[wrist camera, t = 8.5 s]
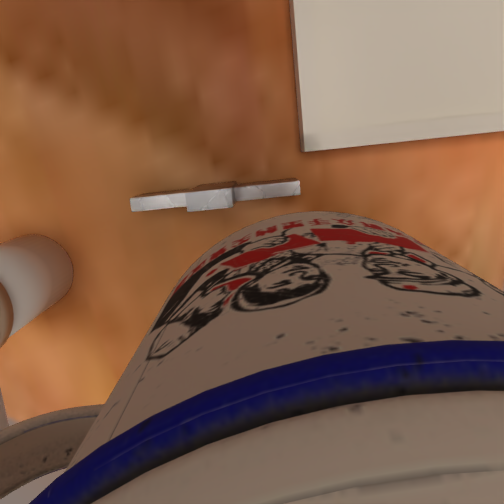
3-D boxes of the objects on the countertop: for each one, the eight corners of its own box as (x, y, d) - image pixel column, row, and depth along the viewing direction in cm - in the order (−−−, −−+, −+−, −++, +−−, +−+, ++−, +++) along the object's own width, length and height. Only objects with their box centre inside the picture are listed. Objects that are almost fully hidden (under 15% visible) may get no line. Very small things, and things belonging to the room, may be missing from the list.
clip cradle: (174, 400, 33) (156, 455, 27) (141, 190, 29) (112, 200, 23) (312, 388, 32) (324, 441, 26) (294, 175, 29) (304, 180, 23)
